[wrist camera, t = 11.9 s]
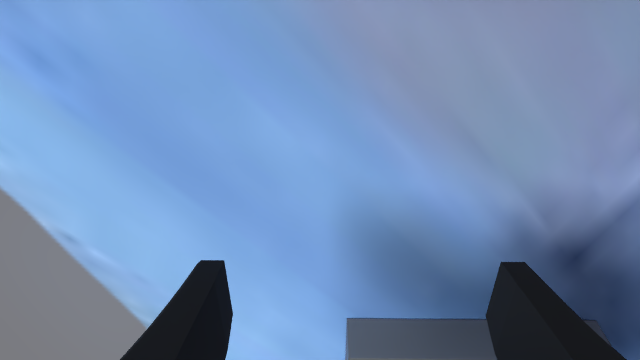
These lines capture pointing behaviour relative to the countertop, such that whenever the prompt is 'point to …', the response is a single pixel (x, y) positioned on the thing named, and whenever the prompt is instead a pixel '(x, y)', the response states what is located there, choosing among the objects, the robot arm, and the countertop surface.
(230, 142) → the countertop surface
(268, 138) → the countertop surface
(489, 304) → the robot arm
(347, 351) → the low pen
